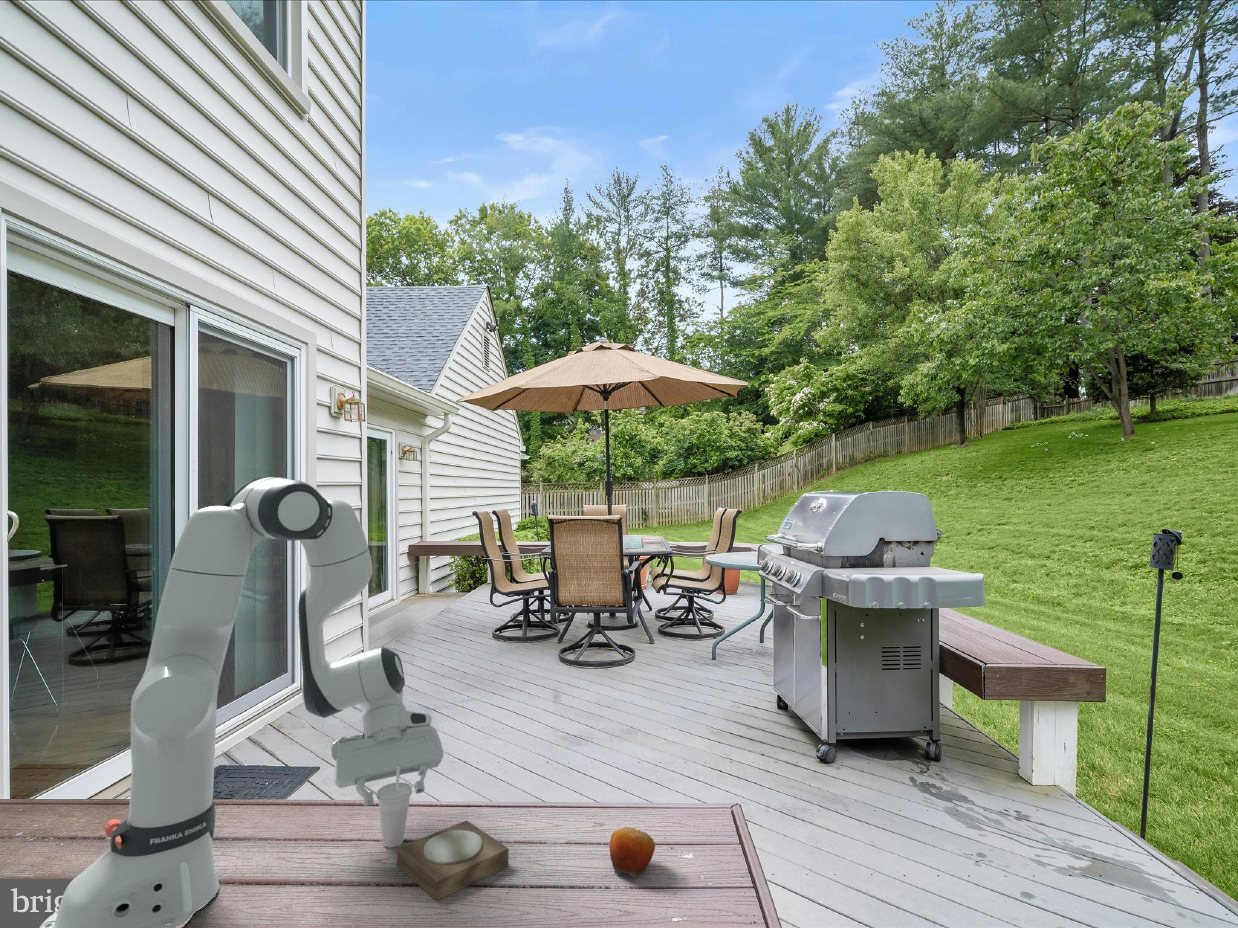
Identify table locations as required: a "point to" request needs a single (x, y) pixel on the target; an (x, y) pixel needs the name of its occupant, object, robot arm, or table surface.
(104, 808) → the table surface
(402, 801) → the smoothie
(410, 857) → the stand
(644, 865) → the fruit
